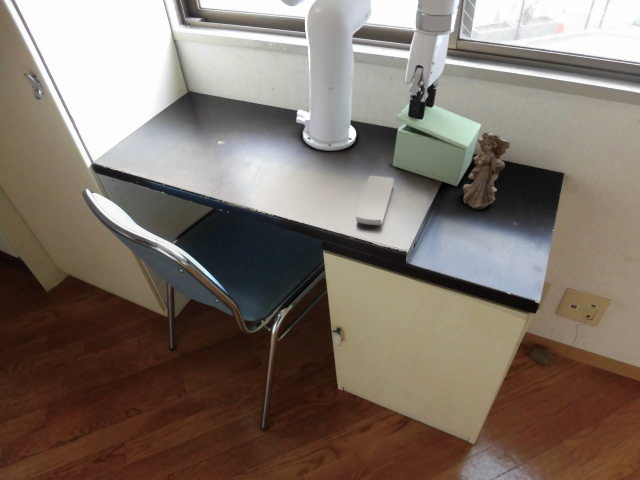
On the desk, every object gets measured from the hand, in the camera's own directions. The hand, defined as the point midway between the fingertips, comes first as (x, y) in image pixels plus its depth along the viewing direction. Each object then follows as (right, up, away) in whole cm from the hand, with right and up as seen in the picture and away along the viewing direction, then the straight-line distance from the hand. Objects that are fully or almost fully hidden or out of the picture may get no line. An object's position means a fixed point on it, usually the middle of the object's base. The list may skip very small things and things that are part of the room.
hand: (420, 110), depth 98 cm
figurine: (+10, -19, -2) cm, 22 cm away
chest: (+4, -10, +6) cm, 13 cm away
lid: (+4, -3, 0) cm, 5 cm away
